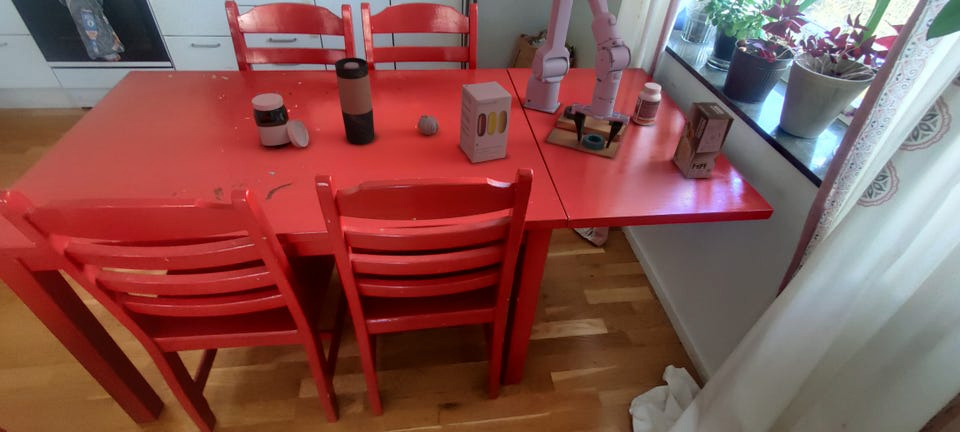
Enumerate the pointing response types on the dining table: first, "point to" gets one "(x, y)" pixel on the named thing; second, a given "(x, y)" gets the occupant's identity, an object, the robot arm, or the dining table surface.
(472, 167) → the dining table surface
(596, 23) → the robot arm
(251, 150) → the dining table surface
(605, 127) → the peg board
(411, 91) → the dining table surface
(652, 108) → the pill bottle
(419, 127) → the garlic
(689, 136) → the coffee box
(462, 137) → the supplement box
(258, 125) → the spread jar
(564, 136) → the cork mat
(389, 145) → the dining table surface
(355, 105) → the travel mug
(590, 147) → the teal ring
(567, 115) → the charcoal ring
